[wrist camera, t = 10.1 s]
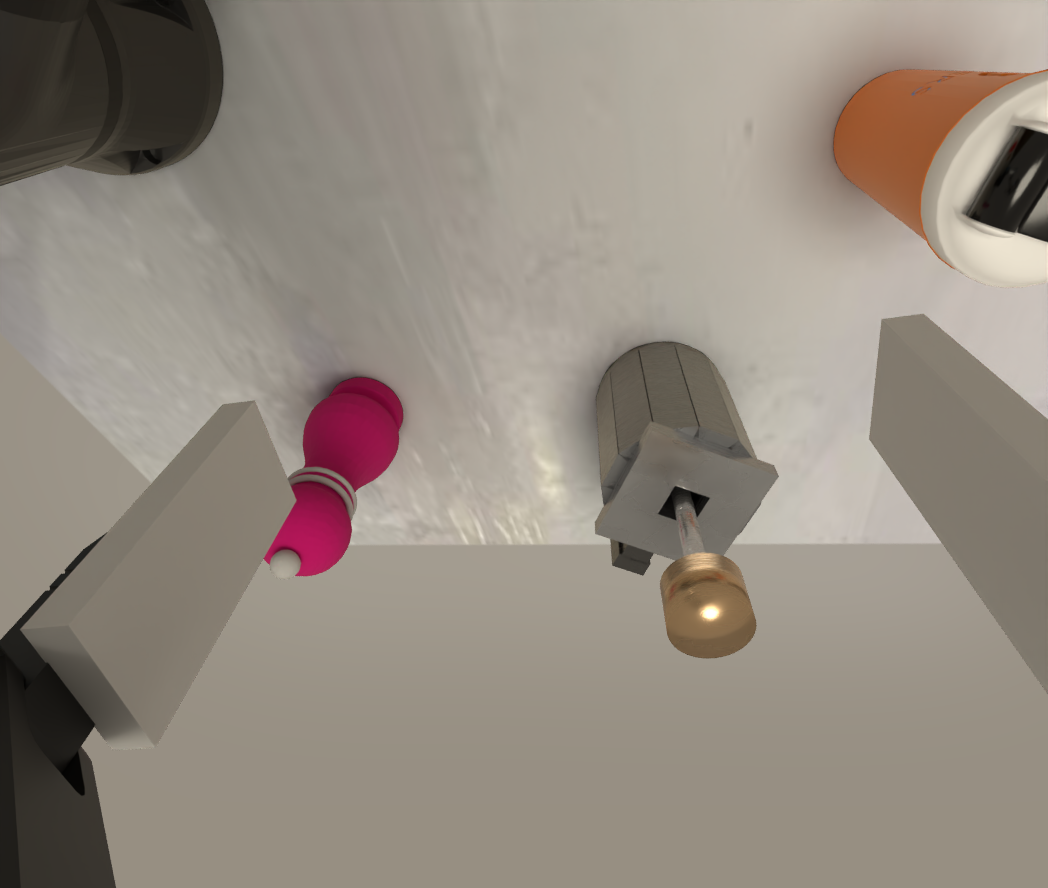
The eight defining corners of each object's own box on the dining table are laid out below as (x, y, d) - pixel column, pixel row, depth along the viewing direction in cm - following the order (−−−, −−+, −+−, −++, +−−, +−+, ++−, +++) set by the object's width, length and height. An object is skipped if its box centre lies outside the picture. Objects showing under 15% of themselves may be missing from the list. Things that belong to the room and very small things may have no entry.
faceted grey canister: (564, 457, 59) (562, 570, 47) (629, 323, 52) (645, 415, 40) (671, 493, 60) (695, 613, 48) (747, 368, 53) (797, 470, 41)
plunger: (602, 449, 53) (615, 653, 36) (642, 370, 49) (679, 556, 32) (687, 479, 54) (739, 691, 37) (733, 403, 50) (814, 601, 33)
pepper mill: (391, 459, 60) (319, 634, 43) (312, 425, 59) (206, 591, 42) (422, 394, 56) (357, 556, 40) (339, 356, 55) (234, 507, 38)
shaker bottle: (930, 211, 47) (1134, 322, 30) (799, 194, 47) (928, 296, 30) (991, 61, 42) (1275, 90, 25) (845, 43, 42) (1030, 61, 25)
